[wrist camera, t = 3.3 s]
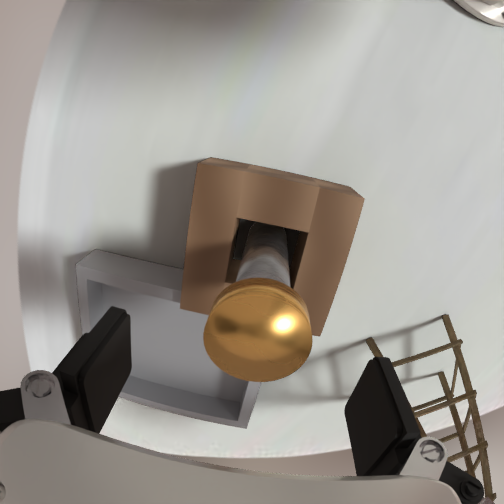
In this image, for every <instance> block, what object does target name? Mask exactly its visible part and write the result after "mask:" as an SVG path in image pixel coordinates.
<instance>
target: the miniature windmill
mask: <svg viewBox="0 0 504 504" xmlns="http://www.w3.org/2000/svg"><path fill="white" fill-rule="evenodd" d="M442 319H443V322H444V325H445V327H446V330H447V333H448V336H449V339H450V342H451V343H449V344H446V345H443V346H441V347H438V348H435V349H432V350H429V351H426V352H423V353H420V354H417V355H414V356H411V357H408V358H405V359H401V360H398V361H395V362H392V365H393V367H396V366H399V365H402V364H405V363H409V362H412V361H415V360H418V359H421V358H424V357H427V356H430V355H433V354H435V353H438V352H441V351H444V350H447V349H449V348H453V351H454V354H455V357H456V362H455V369H454V375H453V382H452V387H451V391H450V388H449V386H448V383H447V380H446V377H445V375H444V372H439V373H438V376H439V379H440V382H441V384H442V387H443V390H444V393H445V396H444V397H441V398H438V399H436V400H433V401H430V402H427V403H424V404H421V405H418V406H415V407H411V405H410V407H411V409H412V412H413V414H414V417H415V419H416V422H417V424H418V427H419V429H420V432H421V433H420V434H421V437H422V438H423V437H427V435H426V433H425V431H424V429H423V428H422V426H421V424H420V422H419V420H418V418H417V417H420V416H423V415H426V414H428V413H431V412H434V411H437V410H439V409H442V408H445V407H447V406H449V408H450V411H451V414H452V417H453V420H454V424H455V427H456V430H457V433H454V434H452V435H449V436H447V437H444V438H442V439H439V441H441V442H442V443H443V442H446V441H448V440H451V439H453V438H456V437H459V441H460V444H461V448H462V452H460V453H457V454H455V455H453V456H450V457H447V461H448V462H449V463H450V462H452V461H455V460H457V459H459V458H462V457H464V459H465V463H466V467H467V471H465V472H466V473H468V474H470V475H471V476H473V477H475V478H476V476H475V472H474V471H475V469H476V468H477V466H478V464H479V462H480V460H481V466H482V474H483V481H484V489H485V498H487V497H489V498H490V499H491V500H492V501H494V500H495V499H496V493H494V494H493V493H492V483H491V476H490V468H489V463H488V456H487V450H486V448H487V447H488V443H487V441H485V439H484V434H483V429H482V425H481V420H480V416H479V412H478V408H477V404H476V400H475V398H476V394H477V392H476V390H473V388H472V385H471V381H470V378H469V374H468V371H467V368H466V364H465V361H464V358H463V355H462V352H461V349H460V348H461V344H462V343H463V341H462V340H461V339H459V340H457V337H456V334H455V331H454V329H453V326H452V323H451V321H450V318H449V315H443V317H442ZM366 343H367V344H368V346H369V348H370V350H371V351H372V353H373V355H374V356H375V357H383V355H382V354H381V352H380V350H379V348H378V347H377V345H376V343H375V342H374V340H373V338H369V339H367V340H366ZM458 367H459V370H460V373H461V377H462V380H463V384H464V387H465V391H466V393H465V394H463V395H461V396H458V397H456V398H453V397H454V395H453V392H454V387H455V381H456V375H457V369H458ZM465 399H468V403H469V408H468V412H467V415H466V419H465V422H464V425H463V428H462V424H461V421H460V418H459V415H458V412H457V409H456V406H455V403H457V402H460V401H462V400H465ZM444 400H447V401H445V402H443V403H440V404H437V405H435V406H432V407H429V408H426V409H423V410H421V411H418V412H414V411H416V410H419V409H422V408H425V407H428V406H430V405H433V404H436V403H439V402H441V401H444ZM408 402H409V401H408ZM409 404H410V403H409ZM470 415H472V419H473V424H474V428H475V433H476V438H477V443H478V445H476V446H474V447H471V448H469V449H468V445H467V442H466V439H465V435H464V433H465V430H466V427H467V424H468V421H469V418H470ZM477 450H479V455H478V457H477V459H476V461H475V463H474V465H473V464H472V461H471V456H470V453H473V452H475V451H477Z"/></svg>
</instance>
